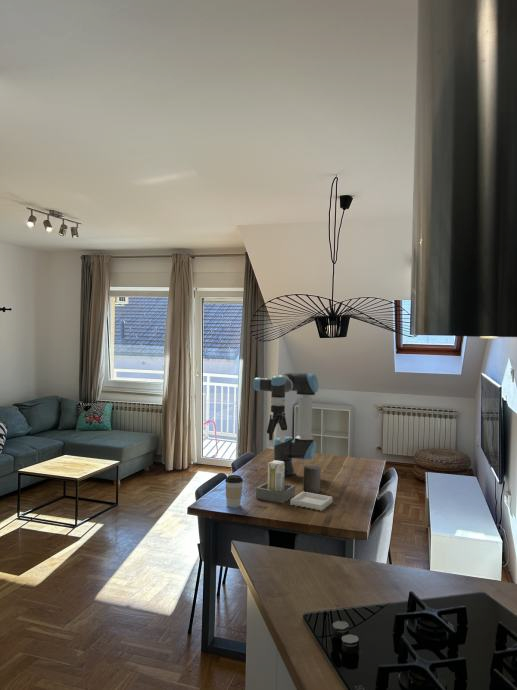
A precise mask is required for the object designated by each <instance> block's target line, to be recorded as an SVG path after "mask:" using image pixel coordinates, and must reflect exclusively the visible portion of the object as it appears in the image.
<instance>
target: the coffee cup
mask: <svg viewBox="0 0 517 690" xmlns="http://www.w3.org/2000/svg"><path fill="white" fill-rule="evenodd" d="M224 479H225V480H224V481H225V498H226V506H227V507H228V506H229V507H228V508H239V507H241V499H242V494H243V493H242V492H243V483H244V478H243V477H242V476H241V475H238V474H230V475H227V477H225V478H224Z"/></svg>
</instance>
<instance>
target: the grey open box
mask: <svg viewBox="0 0 517 690" xmlns="http://www.w3.org/2000/svg"><path fill="white" fill-rule="evenodd" d="M267 488H268V481H266V482H265V483H263V484H260V485H259V486H257V487H256V489H255V499H258V498H259V499H260V500H265V501H269V502H274V501H275V502H274V503H279V502H281V503H280V504H284V503H286V502H288V501H289V500H290V499H292V498H293V496H294V497H295V496H296V485H293V484H286V483H284V491H283V492H280V491H274V490H269V489H267ZM288 499H289V500H288ZM285 501H286V502H285ZM283 502H284V503H283Z"/></svg>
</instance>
